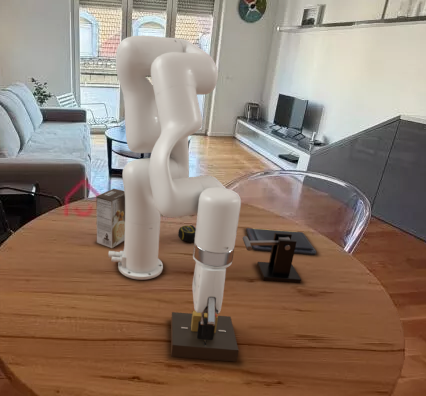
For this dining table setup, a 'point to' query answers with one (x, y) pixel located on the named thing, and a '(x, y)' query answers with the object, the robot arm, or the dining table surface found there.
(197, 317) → the thumbturn
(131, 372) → the dining table surface
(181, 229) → the tape measure
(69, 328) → the dining table surface
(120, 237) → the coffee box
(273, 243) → the door handle
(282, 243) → the handle bracket
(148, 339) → the dining table surface
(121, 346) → the dining table surface
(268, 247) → the dark grey flat tray
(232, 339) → the plate
